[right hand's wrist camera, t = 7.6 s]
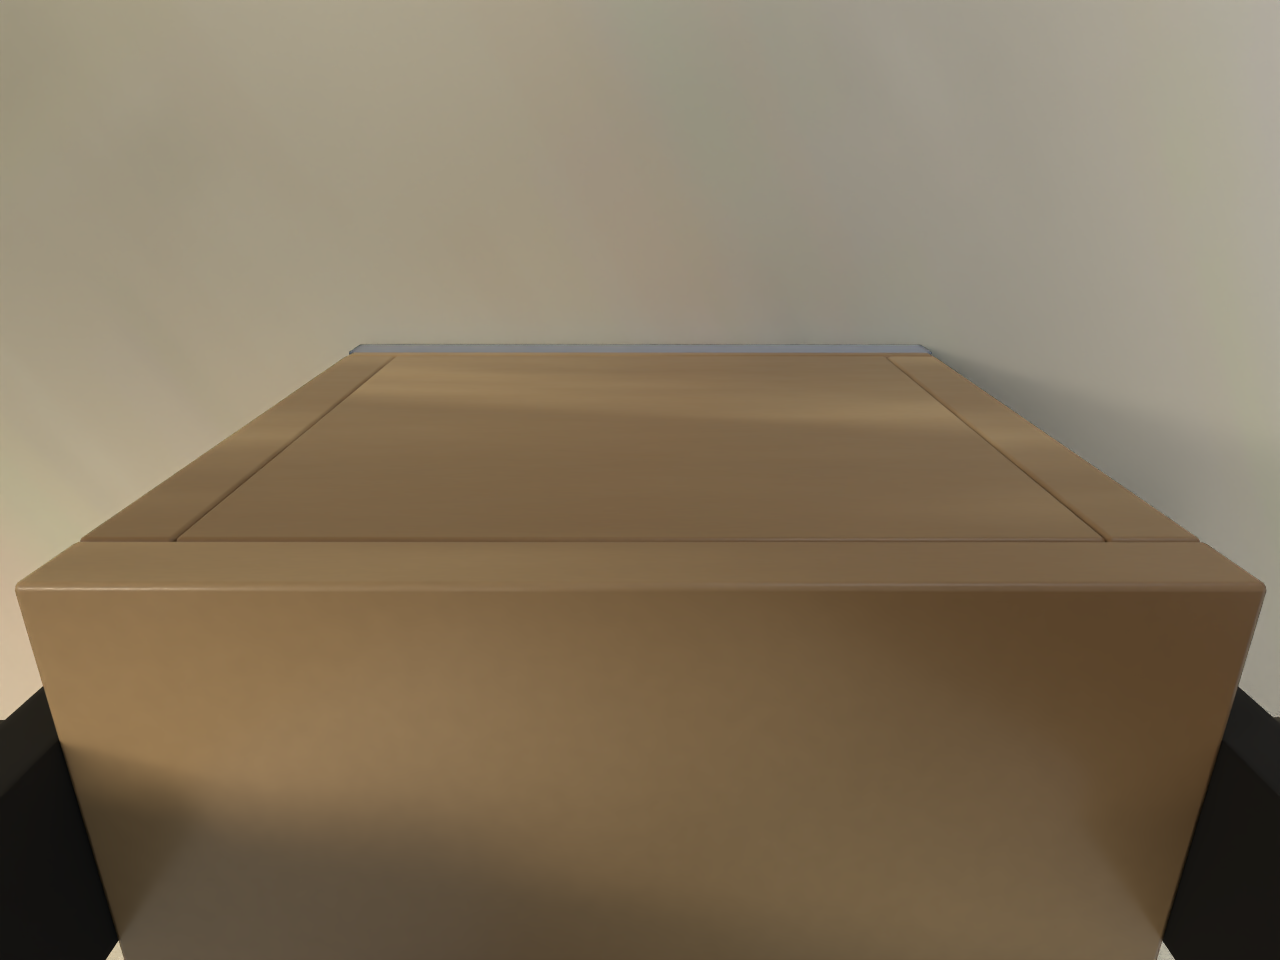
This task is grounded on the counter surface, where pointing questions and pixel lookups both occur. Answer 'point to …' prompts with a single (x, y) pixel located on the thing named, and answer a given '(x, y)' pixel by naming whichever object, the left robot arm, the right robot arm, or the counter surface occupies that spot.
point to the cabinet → (640, 670)
